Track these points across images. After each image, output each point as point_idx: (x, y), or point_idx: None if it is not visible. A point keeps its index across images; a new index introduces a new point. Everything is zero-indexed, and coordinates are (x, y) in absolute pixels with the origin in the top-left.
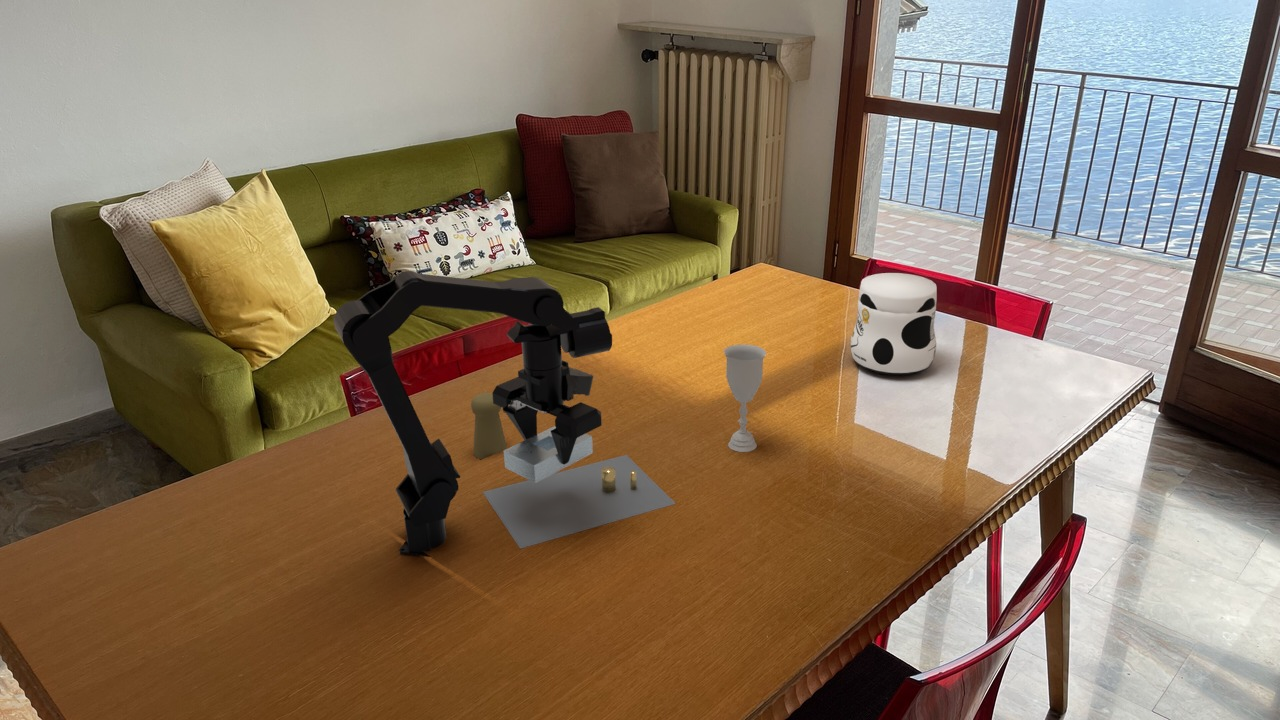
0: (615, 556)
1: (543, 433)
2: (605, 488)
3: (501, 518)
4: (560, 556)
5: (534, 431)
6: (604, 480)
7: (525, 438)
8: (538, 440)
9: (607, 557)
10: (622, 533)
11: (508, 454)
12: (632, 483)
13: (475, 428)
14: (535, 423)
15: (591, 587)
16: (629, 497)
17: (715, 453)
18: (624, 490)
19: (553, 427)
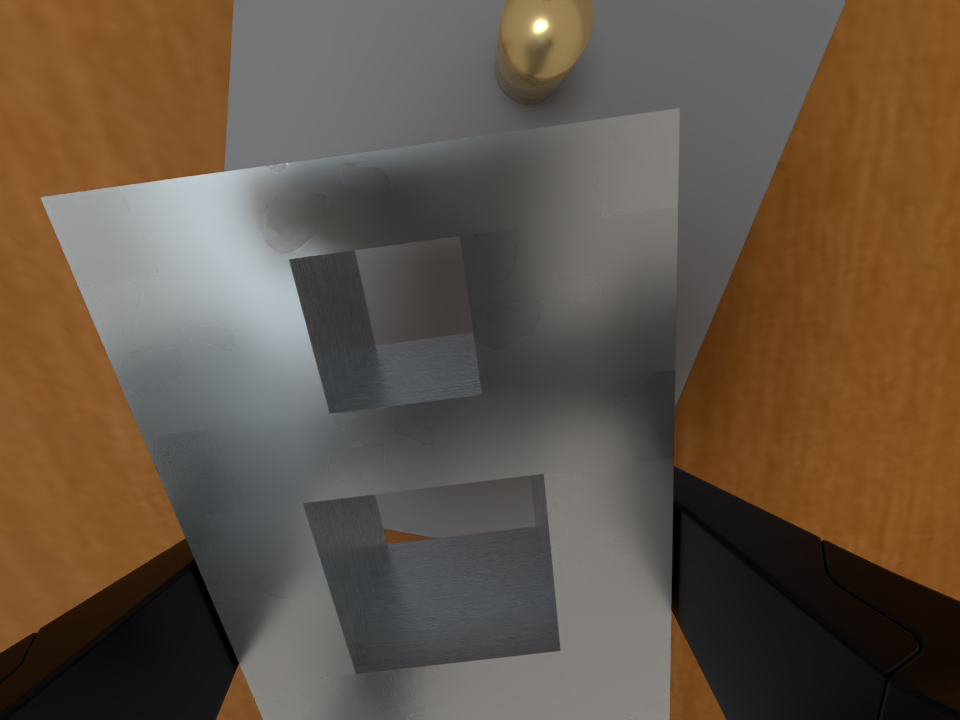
0: (854, 352)
1: (213, 513)
2: (543, 95)
3: (416, 531)
4: (703, 478)
5: (172, 625)
6: (547, 85)
7: (224, 678)
8: (327, 614)
9: (834, 375)
10: (785, 240)
11: None
12: None
13: None
14: (73, 687)
15: (886, 496)
16: (664, 33)
17: None
18: (596, 2)
19: (126, 356)
